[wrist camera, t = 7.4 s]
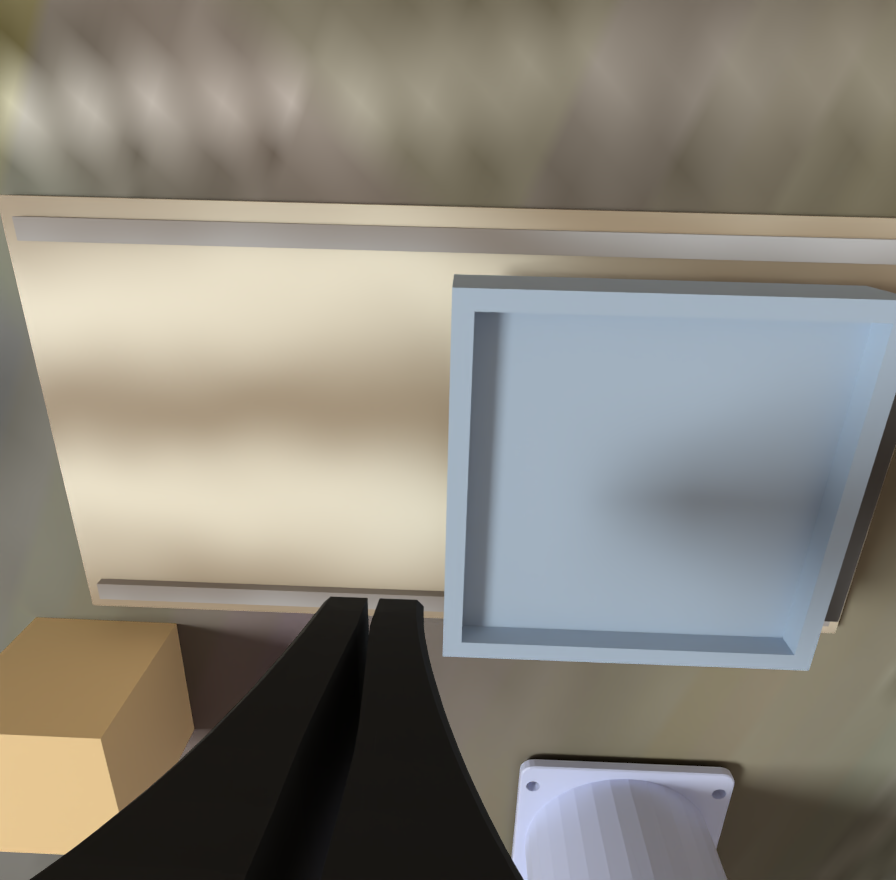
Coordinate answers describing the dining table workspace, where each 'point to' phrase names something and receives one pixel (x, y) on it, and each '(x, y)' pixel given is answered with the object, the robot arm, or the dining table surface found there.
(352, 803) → the robot arm
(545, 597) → the blue square tray
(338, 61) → the dining table surface
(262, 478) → the track
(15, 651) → the ochre block
